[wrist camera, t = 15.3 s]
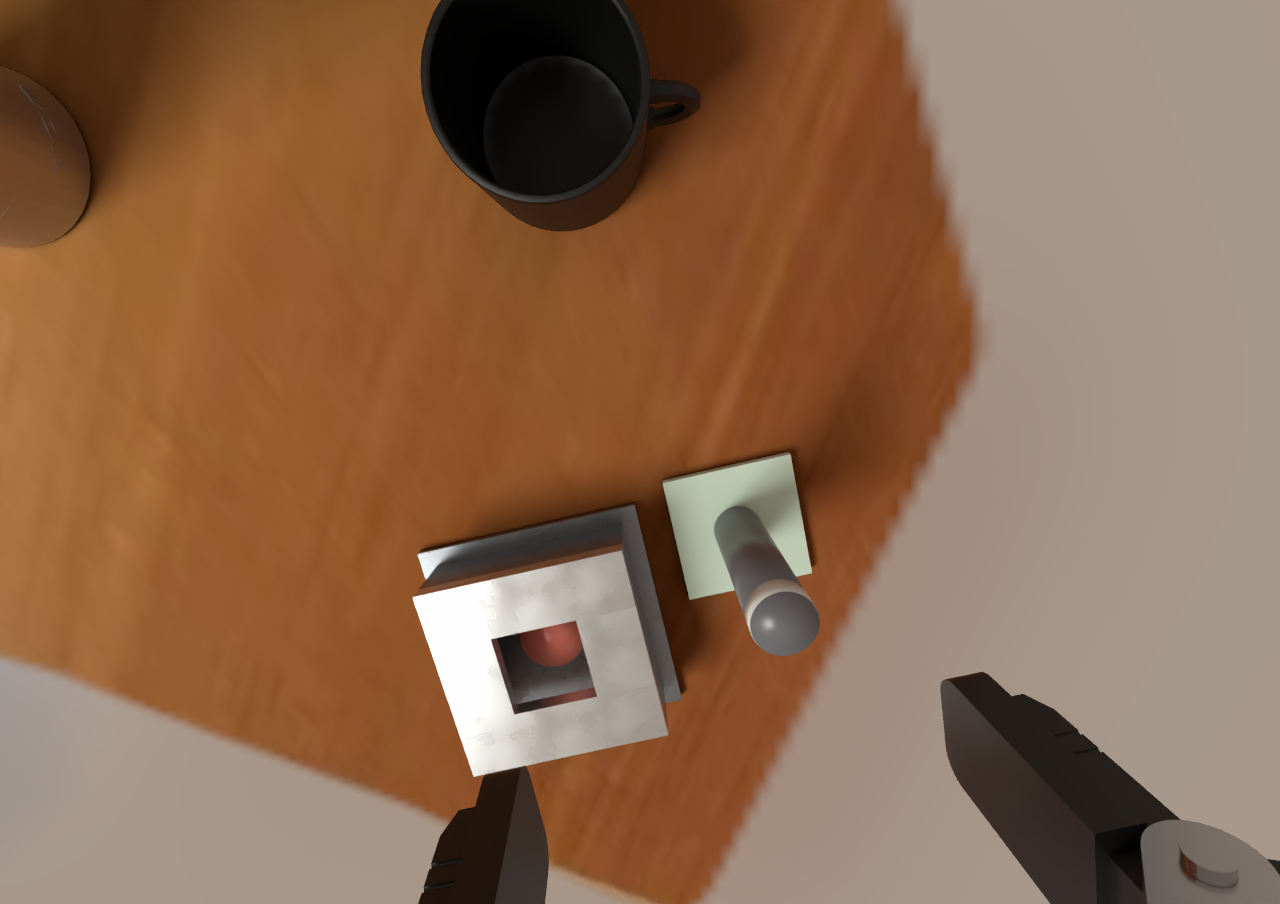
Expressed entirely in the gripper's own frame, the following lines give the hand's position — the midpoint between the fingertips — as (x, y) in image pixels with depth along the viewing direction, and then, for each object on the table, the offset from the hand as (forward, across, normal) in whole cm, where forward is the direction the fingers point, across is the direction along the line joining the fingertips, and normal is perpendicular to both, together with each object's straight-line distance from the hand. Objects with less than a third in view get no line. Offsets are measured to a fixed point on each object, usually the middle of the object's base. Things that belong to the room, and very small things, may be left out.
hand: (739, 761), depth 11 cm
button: (+26, +8, +10) cm, 29 cm away
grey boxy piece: (+27, +8, +10) cm, 30 cm away
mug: (+27, 0, -18) cm, 33 cm away
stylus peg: (+26, -5, +6) cm, 27 cm away
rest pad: (+26, -5, +6) cm, 28 cm away
